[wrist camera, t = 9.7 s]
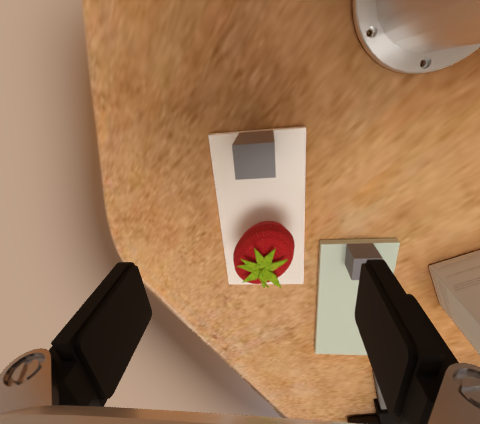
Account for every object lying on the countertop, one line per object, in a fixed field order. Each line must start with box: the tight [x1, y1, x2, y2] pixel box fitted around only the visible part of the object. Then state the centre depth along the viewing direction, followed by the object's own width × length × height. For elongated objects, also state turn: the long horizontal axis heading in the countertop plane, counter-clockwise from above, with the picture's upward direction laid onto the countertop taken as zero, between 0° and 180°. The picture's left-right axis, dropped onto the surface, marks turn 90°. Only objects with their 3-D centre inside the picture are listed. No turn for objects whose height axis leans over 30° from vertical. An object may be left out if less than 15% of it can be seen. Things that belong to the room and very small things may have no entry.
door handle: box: [348, 372, 398, 424], centre depth 44 cm, size 3×20×16 cm
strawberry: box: [233, 221, 295, 288], centre depth 28 cm, size 6×8×10 cm
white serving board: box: [208, 126, 306, 284], centre depth 29 cm, size 20×10×7 cm, turn 5°
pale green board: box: [314, 238, 400, 355], centre depth 35 cm, size 20×9×4 cm, turn 5°
